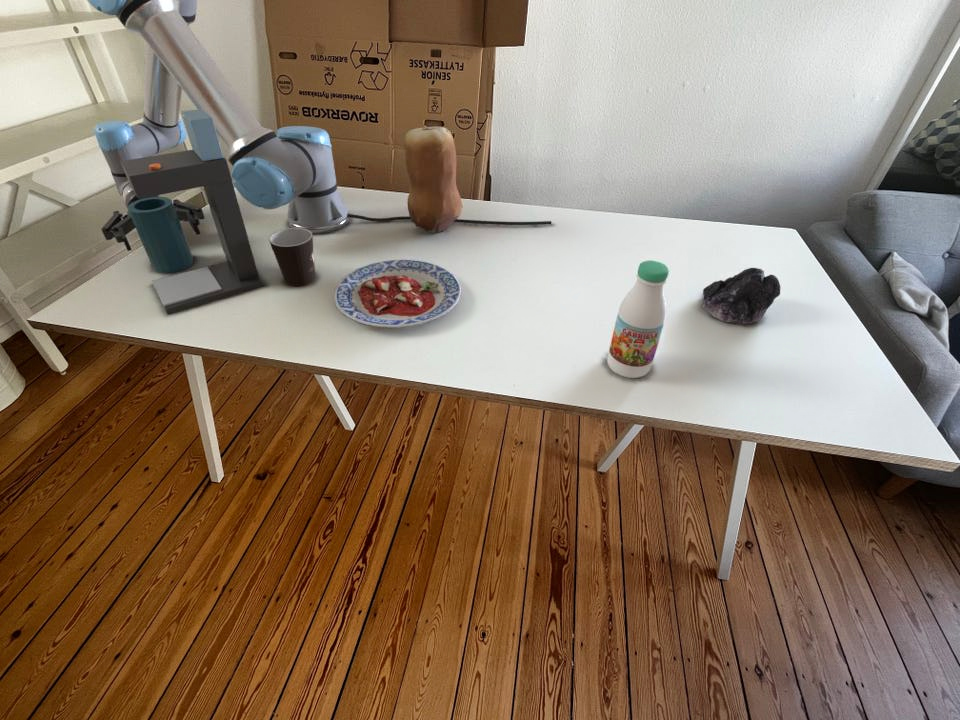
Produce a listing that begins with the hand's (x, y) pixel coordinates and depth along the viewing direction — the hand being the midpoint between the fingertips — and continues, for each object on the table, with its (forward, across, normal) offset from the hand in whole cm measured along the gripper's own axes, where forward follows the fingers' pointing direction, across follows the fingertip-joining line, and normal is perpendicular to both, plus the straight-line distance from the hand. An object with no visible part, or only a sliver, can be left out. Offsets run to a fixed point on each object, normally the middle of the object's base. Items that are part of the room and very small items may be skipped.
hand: (162, 236), depth 111 cm
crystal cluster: (+81, -90, -8) cm, 122 cm away
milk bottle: (+81, -58, -8) cm, 100 cm away
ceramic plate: (+39, -35, -8) cm, 53 cm away
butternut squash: (+16, -59, -8) cm, 61 cm away
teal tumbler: (-2, 0, -7) cm, 8 cm away
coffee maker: (+12, -4, -7) cm, 15 cm away
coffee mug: (+19, -22, -8) cm, 30 cm away
